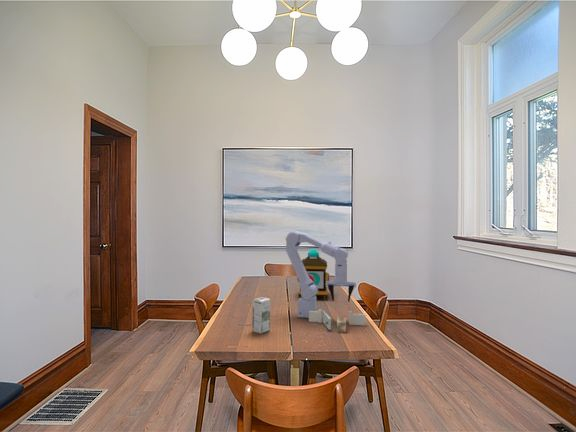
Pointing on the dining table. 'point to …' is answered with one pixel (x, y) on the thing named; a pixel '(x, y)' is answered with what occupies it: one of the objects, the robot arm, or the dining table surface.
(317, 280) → the decorative lantern
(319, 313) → the wall frame
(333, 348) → the dining table surface
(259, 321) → the syrup box
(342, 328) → the birch block
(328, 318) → the door
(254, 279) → the dining table surface
